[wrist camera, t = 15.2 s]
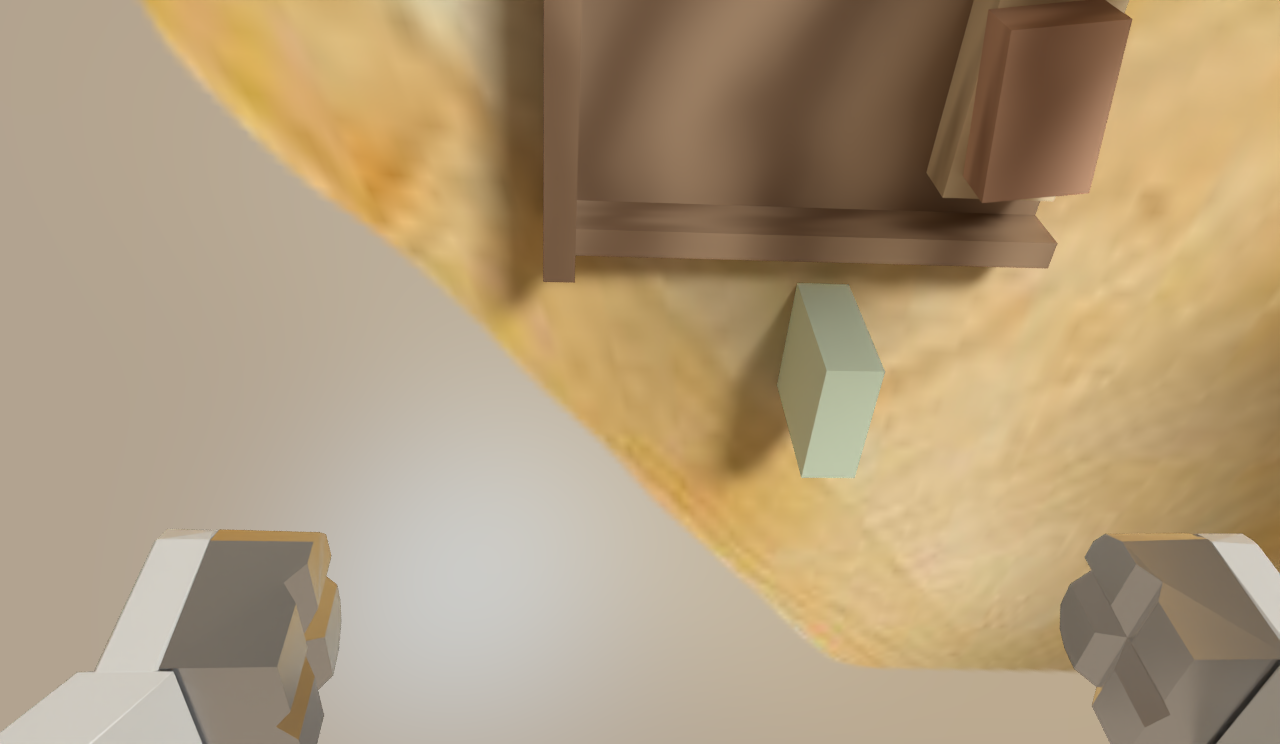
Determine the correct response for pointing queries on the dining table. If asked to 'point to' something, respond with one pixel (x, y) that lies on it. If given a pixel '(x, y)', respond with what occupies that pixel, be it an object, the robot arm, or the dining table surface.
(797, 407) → the pale green brick
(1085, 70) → the offcut
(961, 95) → the offcut
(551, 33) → the tray
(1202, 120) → the dining table surface
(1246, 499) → the dining table surface
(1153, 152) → the dining table surface
